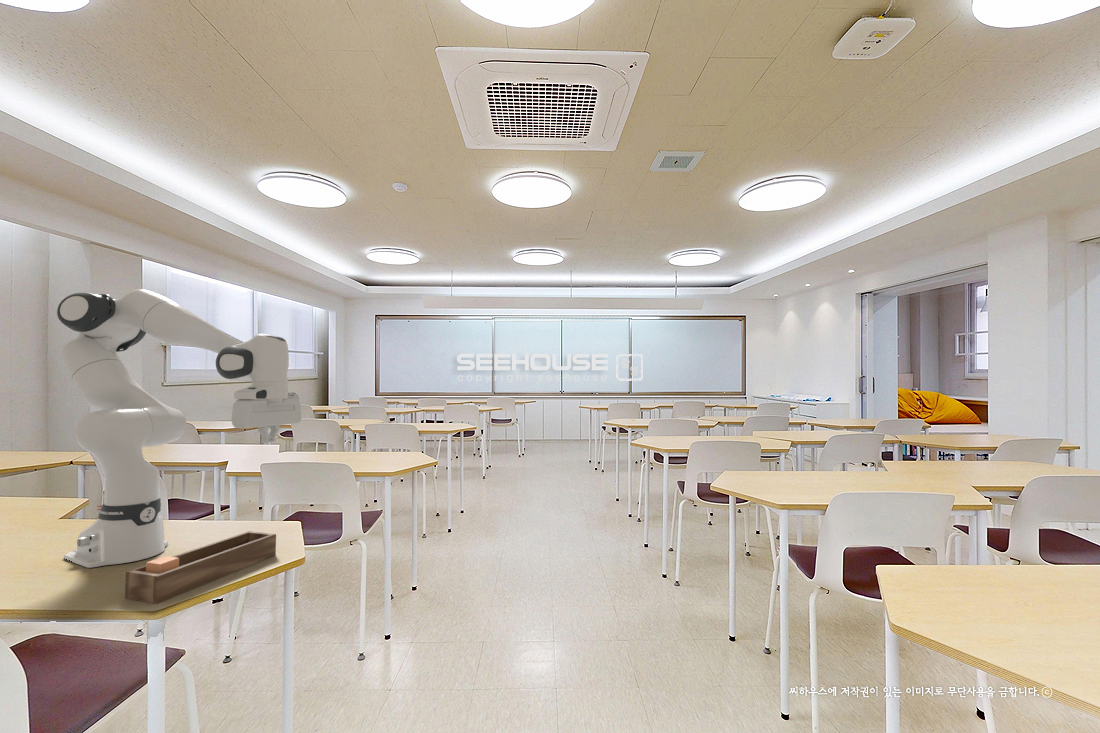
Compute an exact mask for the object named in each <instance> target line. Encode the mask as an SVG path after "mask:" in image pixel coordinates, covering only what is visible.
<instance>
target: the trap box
mask: <svg viewBox="0 0 1100 733" xmlns="http://www.w3.org/2000/svg"><path fill="white" fill-rule="evenodd" d="M276 549H277V534H276V533H269V532H261V531H260V532H259V531H251V530H248V531H245V532H243V533H239V534H237V535H234V536H229V537H227V538H225V539H221V540H219V541H215V542H212V543H209V544H207V545H203V546H200V547H197V548H193V549H190V550H189V551H188V550H187V551H185V552H182V553H179V554H175V555H173V556H171V557H176V558H179V567H178V568H175V569H172V570H169V571H166V572H164V573H161V574H155V573H148V572H146V564H144V565H142V566H139V567H136V568H133V569H130V570H127V571H125V584H124V586H125V587H124V588H125V589H124V590H125V591H124V599H126V600H127V599H129V600H132V601H139V602H140V601H141V602H146V603H150V604H159V603H162V602H164V601H166V600H169V599H171V598H174V597H176V596H178V595H179V596H180V595H182V594H183V593H186V592H189V591H191V590H194V589H196V588H198V587H200V586H203V585H206V584H208V583H211V582H214V581H216V580H218V579H220V578H223V577H226V576H228V575H230V574H232V573H236V572H237V571H241V570H243V569H245V568H248V567H250V566H253V565H255V564H258V563H260V562H262V561H265V560H267V559H270V558H272V557H275V556H276V554H277V553H276V552H277V551H276Z"/></svg>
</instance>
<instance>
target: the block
mask: <svg viewBox="0 0 1100 733" xmlns="http://www.w3.org/2000/svg"><path fill="white" fill-rule="evenodd" d="M145 565H146V572H148V573H155V574H161V573H164V572H166V571H169V570H172V569H175V568H178V567H179V558H176V557H172V556H167V555H163V556H162V557H159V558H155V559H152V560H149V561H146V562H145Z"/></svg>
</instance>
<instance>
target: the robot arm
mask: <svg viewBox="0 0 1100 733" xmlns="http://www.w3.org/2000/svg"><path fill="white" fill-rule="evenodd" d="M56 315H57V318H58V320H59V321H60V323H61V324H63V325H64V326H66V327H67V328H69V329H70V330H72V331H74V332H78V333H79V335H78V336H77V337H74V338H72V339H70V340H69V341H67V342H66V343H64V345H63V346H62V347H61V351H60V352H61V353H60V354H61V357H62V361H63V363H64V367H65V369H66V371H67V373H68V375H69V377H70V378H71V380H72V382H73V383H74V385H75V386H76V388H77V390H78V391H79V393H80V394H81V396H82V397H83V399H84V401H85V402H86V403H87V404H88V405H90V406H91V407H92V408H95V409H97V410H96V411H92V412H88V413H86V414H83V415H82V416H81V417H80V418H79V419H78V421H77V422H76V424H75V427H74V434H73V435H74V438H75V441H76V443H77V444H78V446H80V447H81V448H82V449H83V450H84V451H87V452H88V453H90V454H92V456H94V458H95V459H96V460H97V462H98V463H99V465H100V467H101V470H102V472H103V481H104V482H103V484H104V485H103V486H104V492H103V494H104V496H103V497H104V498H103V499H104V500H103V504H101V505H97V508H98V509H96V510H97V511H99V512H98V513H99V514H98V516H97V519H96V520H95V521H94V522H93V523H91V524H90V525H89V526H87V528H85V529H84V530H83V531H81V532H80V533H79V535H78V538H77V540H76V549H74V550H71V551H68V552H67V553H65V554H64V555H63V559H64V558H65V559H64V560H66V559H67V560H66V561H69V560H70V561H69V562H71V561H72V563H73V564H77V565H79V566H82V567H84V568H87V569H90V568H91V569H92V568H97V567H101V566H102V567H103V566H110V565H118V564H119V565H120V564H125V563H131V562H136V561H141V560H145V559H149V558H151V557H154V556H157V555H160V554H162V553H163V552H164V551H165V550H166V548H165V547H168V545H169V541H168V540H166V539H165V528H164V527H165V526H164V524H165V523H164V518H163V516H162V515H161V514H160V512H161V511H162V510H161V509H162V508H161V506H162V501H161V500H162V499H161V497H160V481H161V480H160V475H161V474H160V473H161V472H160V469H159V468H158V467H157V466H156V465H154V464H153V463H150V462H147V461H146V459H145V458H144V455H143V448H151V447H157V446H158V447H159V446H163V445H167V444H169V443H172V442H175V441H177V440H180V439H181V438H182V437H183V436H184V434H185V433H186V429H187V419H186V416H185V415H184V413H183V412H182V411H180V410H179V409H177V408H174V407H172V406H169V405H167V404H165V403H163V402H162V401H160V400H159V399H157V398H156V397H154V396H153V395H152V394H150V393H149V392H147V391H146V390H145V389H144V388H142V387H141V386H140V384H138V383H137V382H136V380H135V379H134V377H133V376H132V374H131V373H130V372H129V371H128V368H127V367H126V366H125V365H124V363H123V361H122V360H121V359H120V357H119V356H118V353H119V352H125V351H127V350H128V349H129V348H131V347H133V346H135V345H136V344H138V343H139V342H140V341H142V340H143V338H144V337H145V335H146V334H148V335H149V336H151V337H153V338H154V339H157V340H159V341H161V342H165V343H166V344H167V343H168V344H170V345H171V344H172V345H175V346H183V347H191V348H197V349H202V350H207V351H210V352H212V353H216V354H217V355H216V359H215V368H216V371H217V373H218V374H219V375H220V376H221V377H222V378H224V379H227V380H231V381H244V382H245V381H246V382H247V381H249V382H251V385H250V386H247V387H243V388H242V389H239V390H236V391H235V392H234V394H233V398H234V399H235V400H236V401H234V403H233V405H232V413H231V424H232V426H233V427H234V428H235V429H253V428H257V429H258V430H257V431H258V433H259V434H260V436H261V443H262V444H270V443H275V442H276V436H277V434H278V433H279V432H280V431H279V430H280V426H283V425H296V424H300V422H301V421H302V407H301V402H300V395H298V394H297V393H296V392H293V391H291V392H290V391H289V378H288V369H289V367H290V364H289V363H290V362H289V361H290V356H289V355H290V354H289V345H288V342H287V340H286V339H285V338H283V337H282V336H277V335H272V334H265V333H259V334H255V335H254V337H253V338H250V339H249V340H247V341H245V342H244V341H242V340H240V339H238V338H236V337H235V336H232V335H231V334H228V333H227V332H224V331H222V330H221V329H219V328H217V327H215V326H214V325H213V324H211V323H209V322H207V321H206V320H204V319H203V318H201V317H199V316H198V315H196V314H195V313H193V312H192V311H190V310H188V309H187V308H185V307H184V306H182V305H181V304H179V303H178V302H175V301H174V300H172V299H170V298H168V297H166V296H163V295H162V294H159V293H156V292H153V291H151V290H146V289H142V288H140V289H134V290H131V291H129V292H127V293H125V295H123V297H121V298H118V299H115V298H113V297H112V296H111V295H110V294H105V293H99V294H98V293H91V292H76V293H71V294H69V295H67V296H65V297H64V298H63V299H62V300H61V301H60V303H59V304H58V306H57V310H56ZM268 431H269V433H268Z"/></svg>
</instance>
